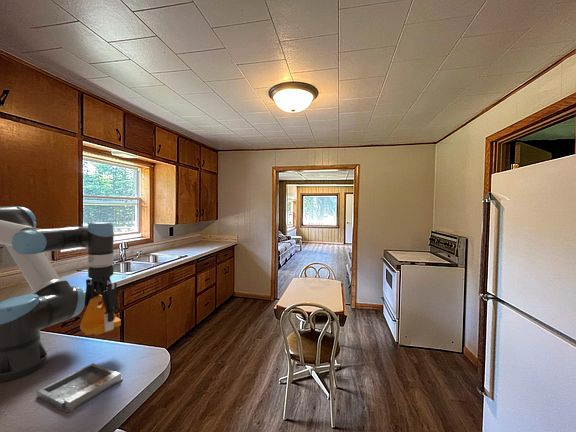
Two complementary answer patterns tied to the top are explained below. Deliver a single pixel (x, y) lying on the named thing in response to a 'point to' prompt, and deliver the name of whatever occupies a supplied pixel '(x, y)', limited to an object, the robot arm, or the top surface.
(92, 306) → the bracket
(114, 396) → the top surface
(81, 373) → the tray
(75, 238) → the robot arm
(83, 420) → the top surface
